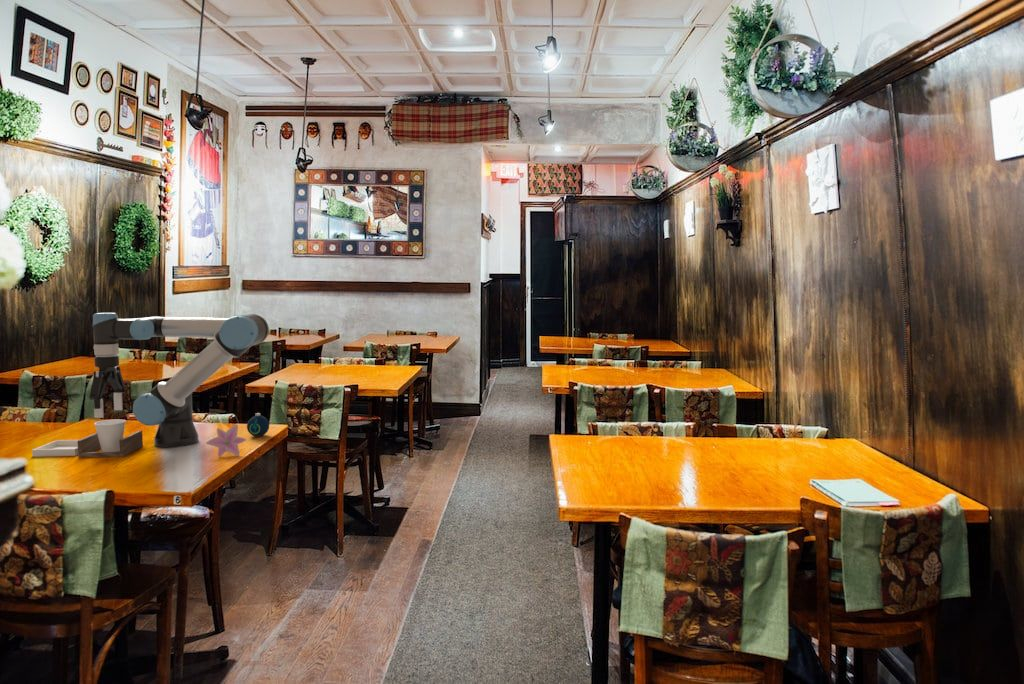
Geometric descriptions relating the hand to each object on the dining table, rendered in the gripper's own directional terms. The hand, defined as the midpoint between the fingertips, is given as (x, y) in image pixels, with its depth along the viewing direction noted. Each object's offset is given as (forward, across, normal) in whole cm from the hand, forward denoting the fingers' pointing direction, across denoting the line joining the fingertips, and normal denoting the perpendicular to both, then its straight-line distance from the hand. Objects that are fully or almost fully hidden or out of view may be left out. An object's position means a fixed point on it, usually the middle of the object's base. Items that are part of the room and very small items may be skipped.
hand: (109, 413), depth 236 cm
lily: (+14, +6, +43) cm, 46 cm away
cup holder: (+14, 0, 0) cm, 14 cm away
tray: (+14, -2, -17) cm, 22 cm away
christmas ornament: (+14, -21, +46) cm, 53 cm away
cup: (+14, 0, 0) cm, 14 cm away
